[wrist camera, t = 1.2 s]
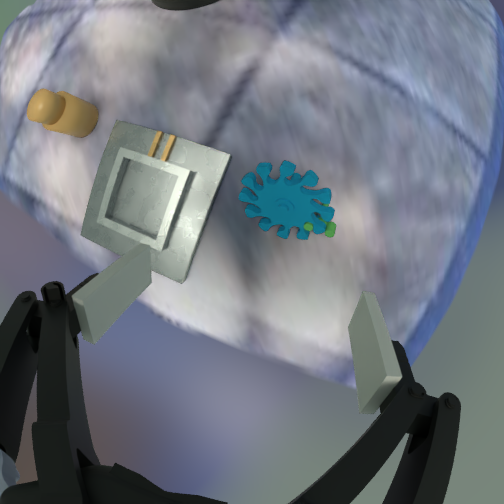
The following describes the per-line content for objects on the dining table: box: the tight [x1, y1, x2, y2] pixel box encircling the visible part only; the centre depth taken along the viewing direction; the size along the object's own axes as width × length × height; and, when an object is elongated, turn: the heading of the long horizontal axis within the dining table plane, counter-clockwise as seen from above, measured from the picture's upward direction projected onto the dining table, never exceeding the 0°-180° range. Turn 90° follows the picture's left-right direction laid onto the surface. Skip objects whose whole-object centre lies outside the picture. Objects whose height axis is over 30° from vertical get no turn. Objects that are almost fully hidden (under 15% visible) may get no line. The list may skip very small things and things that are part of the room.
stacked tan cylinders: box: [27, 89, 98, 138], centre depth 25 cm, size 5×5×10 cm
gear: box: [239, 160, 336, 240], centre depth 29 cm, size 11×6×10 cm
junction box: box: [81, 120, 232, 284], centre depth 30 cm, size 16×16×3 cm
